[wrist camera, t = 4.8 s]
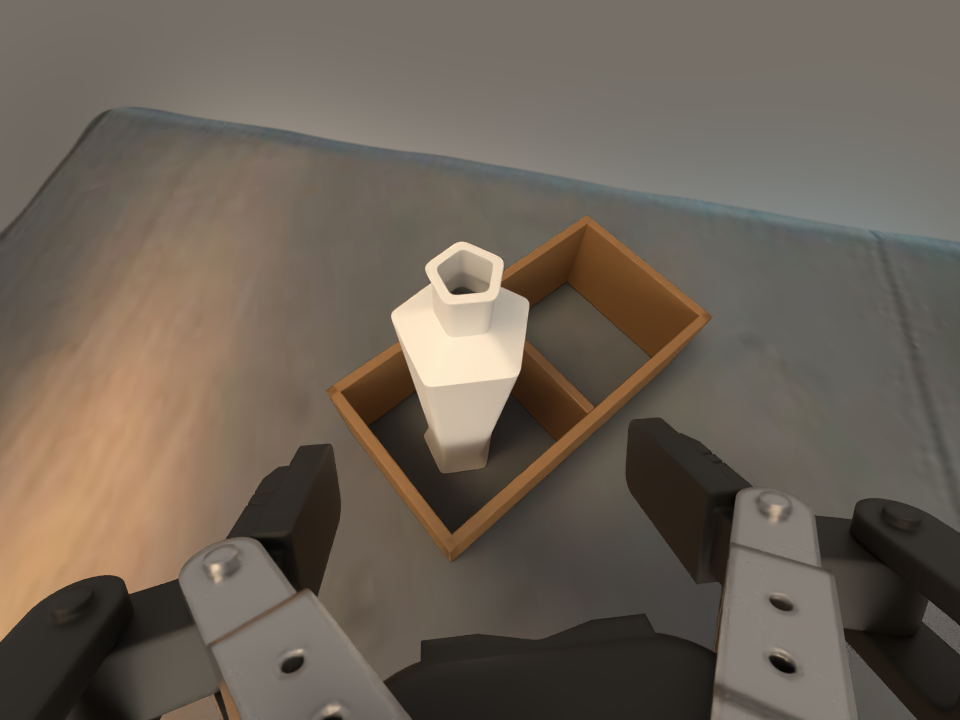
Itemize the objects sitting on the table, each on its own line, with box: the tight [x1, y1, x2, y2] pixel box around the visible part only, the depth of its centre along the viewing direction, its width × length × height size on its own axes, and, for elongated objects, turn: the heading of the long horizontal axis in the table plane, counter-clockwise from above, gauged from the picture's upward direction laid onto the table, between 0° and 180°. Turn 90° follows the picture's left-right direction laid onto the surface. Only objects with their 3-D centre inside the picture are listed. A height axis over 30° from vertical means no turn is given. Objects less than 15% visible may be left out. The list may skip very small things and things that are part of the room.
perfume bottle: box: [391, 242, 529, 474], centre depth 19 cm, size 5×4×15 cm
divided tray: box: [326, 215, 712, 562], centre depth 25 cm, size 18×9×6 cm, turn 131°
